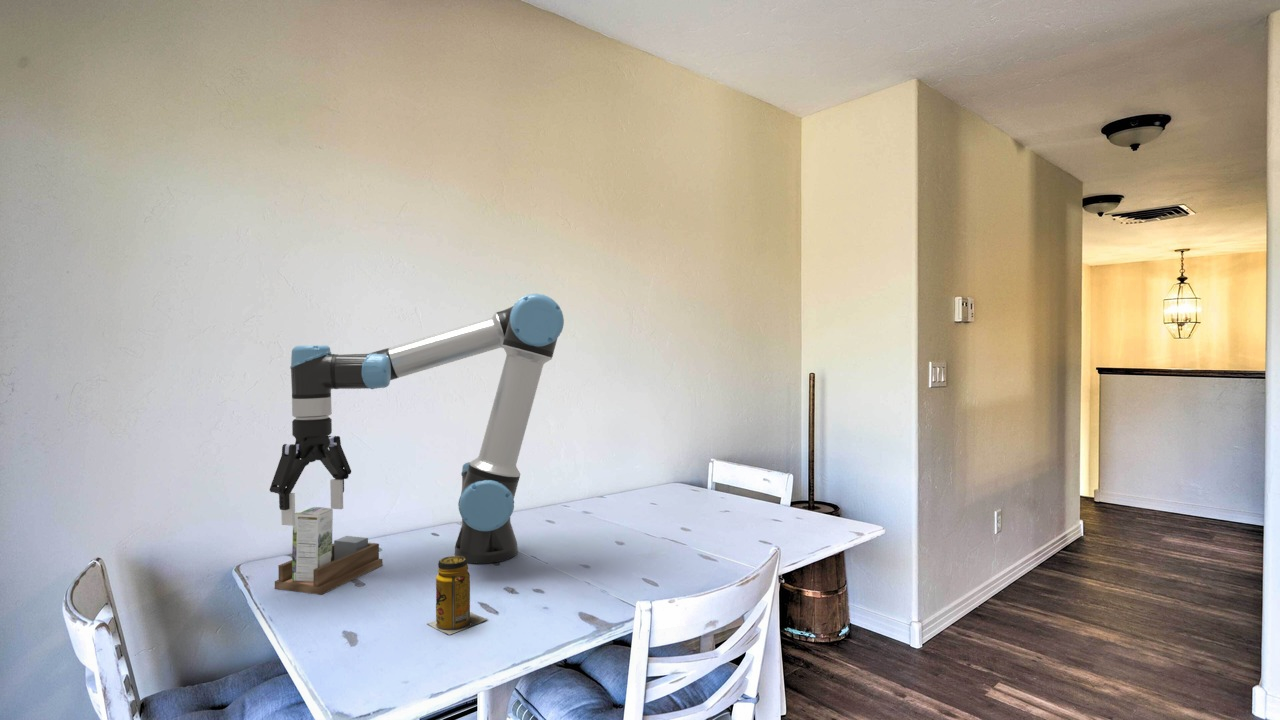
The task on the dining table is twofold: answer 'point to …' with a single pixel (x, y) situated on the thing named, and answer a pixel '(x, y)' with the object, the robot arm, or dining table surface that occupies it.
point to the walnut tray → (332, 571)
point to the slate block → (348, 546)
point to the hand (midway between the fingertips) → (313, 516)
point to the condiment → (453, 596)
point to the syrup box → (311, 542)
